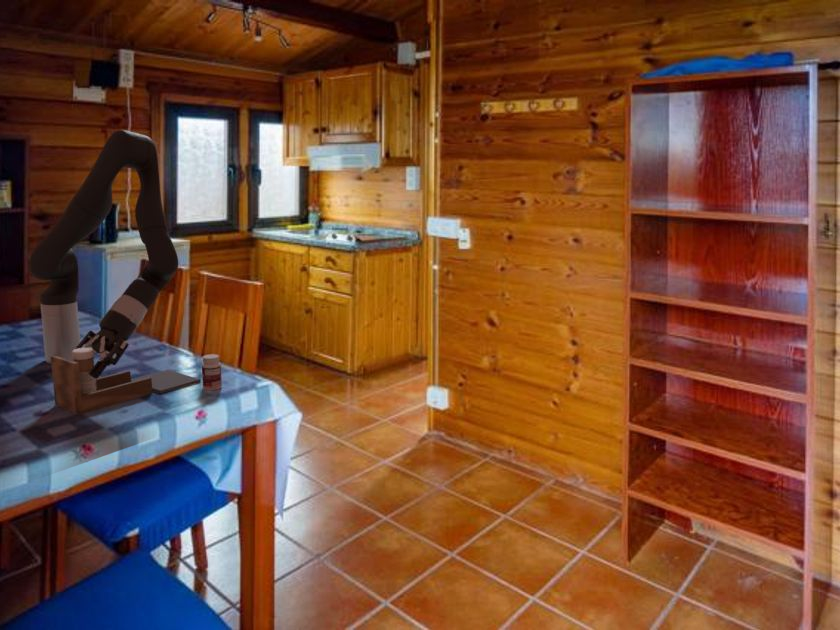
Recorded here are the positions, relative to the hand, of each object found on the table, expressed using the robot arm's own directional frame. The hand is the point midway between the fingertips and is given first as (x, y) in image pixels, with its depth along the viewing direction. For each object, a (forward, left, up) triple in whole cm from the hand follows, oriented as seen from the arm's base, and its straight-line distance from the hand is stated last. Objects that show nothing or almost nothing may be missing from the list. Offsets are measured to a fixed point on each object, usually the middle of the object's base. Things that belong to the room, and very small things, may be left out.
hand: (82, 373), depth 157 cm
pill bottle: (+13, +27, -8) cm, 31 cm away
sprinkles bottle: (0, +1, -8) cm, 8 cm away
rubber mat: (0, +22, -8) cm, 23 cm away
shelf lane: (0, +5, -8) cm, 9 cm away
